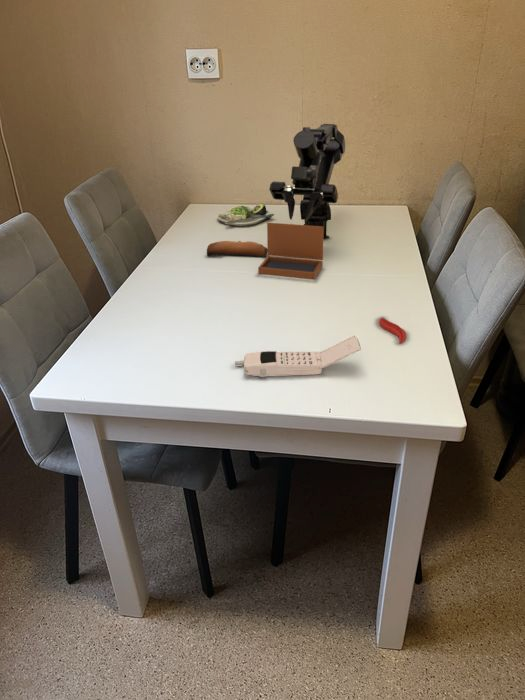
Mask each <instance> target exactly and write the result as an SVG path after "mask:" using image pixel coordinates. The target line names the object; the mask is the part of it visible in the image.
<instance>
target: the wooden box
mask: <svg viewBox="0 0 525 700" xmlns="http://www.w3.org/2000/svg"><path fill="white" fill-rule="evenodd" d="M270 261H280V262H291V263H301V264H312V265H317V267H316V268H315V270H314V272H307V271H297V270H287V269H276V268H266V265H267V264H268V263H269V262H270ZM323 263H324V262H323V260H316V259H305V258H294V257H283V256H272V255H267V256H266V257H265V259H264V260H263V261H262V262H261V263H260V265H259V266H258V267H257V268H258V270H257V271H258V275H265V276H275V277H276V276H277V277H284V278H285V277H286V278H293V279H295V278H296V279H304V280H305V279H306V280H316V279H317V278H318V276H319V274H320V272H321V270H322V269H323V265H324V264H323Z"/></svg>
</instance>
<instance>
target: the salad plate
mask: <svg viewBox="0 0 525 700" xmlns="http://www.w3.org/2000/svg"><path fill="white" fill-rule="evenodd" d="M273 216H276V215H275V213H271V211H269V210H267V207H266V205H265V204H264V203H259V204H257V205H256V206H254V207H252V206H247V205H238V206H235V207H233V208H230V209H228V210H225V211H223V212H221V213H218V214H217V220H219V221H220V222H221V223H222V224H224V225H227V226H231V227H249V226H254V225H257V224H261V223H263V222H265V221H268V219H270V218H271V217H273Z"/></svg>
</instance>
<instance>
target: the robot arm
mask: <svg viewBox="0 0 525 700" xmlns="http://www.w3.org/2000/svg"><path fill="white" fill-rule="evenodd" d="M293 146H294V148H295V151H296V154H297V157H298V158H299V164H298V166H292V167H291V173H290V174H291V175H290V179H291V180H292V181H291V182H292V185H293V186H294V187H293V186H292V185H287V184H286V182H285V181H275V180H273V181H272V182H270V185H269V188H268V190H269V192H270V194H271V197H272V199H274V200H279V201H284V202H285V203H286V204H287V210H288V218H289V220H293V216H294V211H295V205H296V200H295V198H294V197H295V196H302V197H303V198H302V199H301V200H300V204H299V212H300V219H301V220H302V221H303V220H304V223H303V225H309V226H322V227H324V238H323V240H327V239H329V238H330V236H329V235H327V229H328V228H327V226H328V221H331V220H332V209H331V206H330V204H336V203H338V198H339V192H338V189H337V186H336V184H331V183H330V180H331V178H332V174H333V170H334V167H335V165H336V164H337V163H339V162H340V161H342V158H343V155H344V154H345V153H346V139H345V135H344V134H343V133H342V132H341V131H339V129H338V125H337V124H335V123H322V124H320V126H318V127H317V128H311V127H310V126H309V127H308V126H303V127H302V130H300V131H298V132H297V133H296V134H295V136H293Z"/></svg>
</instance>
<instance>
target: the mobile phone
mask: <svg viewBox="0 0 525 700" xmlns="http://www.w3.org/2000/svg"><path fill="white" fill-rule="evenodd" d="M361 350H362V348H361V344H360V341H359V339H358V338H357V336H356V335H353V336H349V337H348V338H345V339H343V341H340V342H339V343H336V344H334V345H332V346H330V347H328V348H326V349H325V350H323V351H318V350H316V351H277V350H264V351H254V352H247V353H245V354H244V355H243V360H235V361H234V365H235V366H243V371H244V374H245V375H247V376H253V377H260V378H265V377H284V376H285V377H286V376H289V377H290V376H311V375H313V376H314V375H321V374H322V371H323V369H324V368H326V367H328V366H330V365H332V364H335V363H337V362H339V361H341V360H343V359H345V358H347V357H349V356H351V355H353V354H356V353H357V352H359V351H361Z"/></svg>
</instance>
